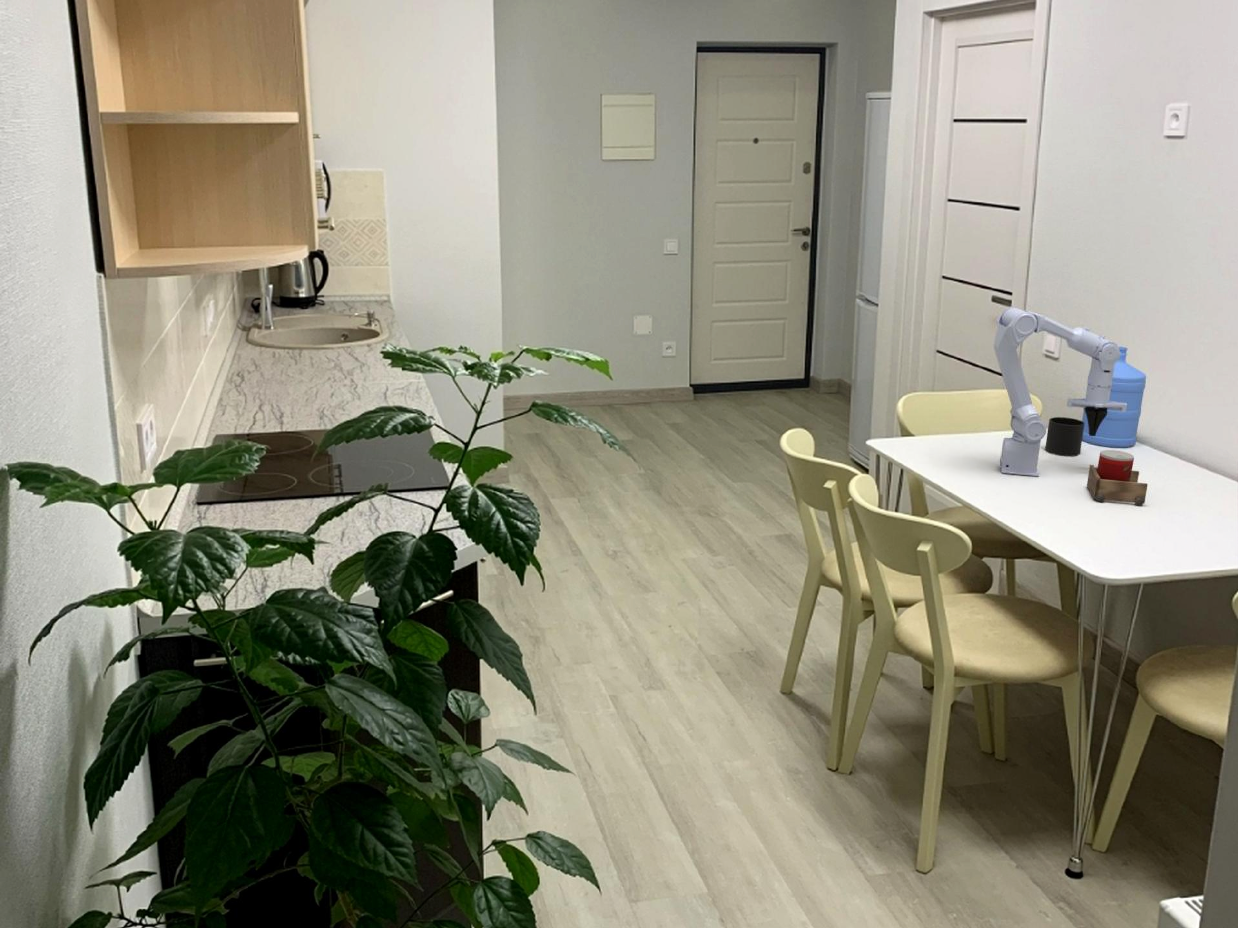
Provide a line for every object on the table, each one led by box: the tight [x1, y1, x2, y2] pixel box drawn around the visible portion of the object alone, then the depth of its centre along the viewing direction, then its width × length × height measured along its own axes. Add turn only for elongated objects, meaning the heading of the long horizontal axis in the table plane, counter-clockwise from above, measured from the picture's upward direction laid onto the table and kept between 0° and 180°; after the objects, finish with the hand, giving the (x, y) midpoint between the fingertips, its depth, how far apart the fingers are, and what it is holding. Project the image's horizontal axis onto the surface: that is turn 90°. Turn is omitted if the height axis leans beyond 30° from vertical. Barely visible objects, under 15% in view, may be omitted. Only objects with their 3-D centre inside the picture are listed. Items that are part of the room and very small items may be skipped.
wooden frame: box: [1086, 464, 1148, 507], centre depth 299 cm, size 12×13×6 cm
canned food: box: [1097, 449, 1135, 482], centre depth 299 cm, size 8×8×11 cm
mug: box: [1044, 416, 1084, 457], centre depth 339 cm, size 9×12×9 cm
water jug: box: [1081, 346, 1147, 449], centre depth 348 cm, size 16×16×28 cm
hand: (1091, 435), depth 317 cm, fingers closed
